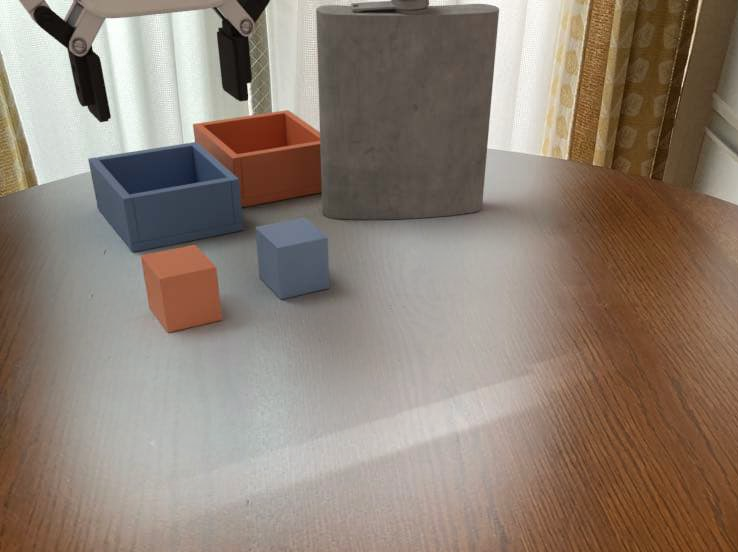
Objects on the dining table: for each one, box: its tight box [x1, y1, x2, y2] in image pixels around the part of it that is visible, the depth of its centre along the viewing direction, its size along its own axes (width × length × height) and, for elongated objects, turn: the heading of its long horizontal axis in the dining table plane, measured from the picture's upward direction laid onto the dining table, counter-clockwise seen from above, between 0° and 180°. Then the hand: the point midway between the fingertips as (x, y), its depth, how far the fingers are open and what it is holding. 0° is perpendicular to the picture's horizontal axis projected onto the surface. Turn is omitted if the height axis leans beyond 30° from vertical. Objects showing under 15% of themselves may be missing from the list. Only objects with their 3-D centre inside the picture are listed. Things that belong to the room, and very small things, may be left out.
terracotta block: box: [140, 244, 223, 333], centre depth 72 cm, size 4×4×4 cm
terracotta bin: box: [192, 109, 322, 208], centre depth 93 cm, size 11×11×5 cm
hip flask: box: [315, 0, 500, 221], centre depth 84 cm, size 16×4×20 cm, turn 100°
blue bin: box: [87, 141, 244, 253], centre depth 86 cm, size 11×11×5 cm
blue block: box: [255, 217, 330, 300], centre depth 77 cm, size 4×4×4 cm
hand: (169, 105), depth 63 cm, fingers open, 9 cm apart
